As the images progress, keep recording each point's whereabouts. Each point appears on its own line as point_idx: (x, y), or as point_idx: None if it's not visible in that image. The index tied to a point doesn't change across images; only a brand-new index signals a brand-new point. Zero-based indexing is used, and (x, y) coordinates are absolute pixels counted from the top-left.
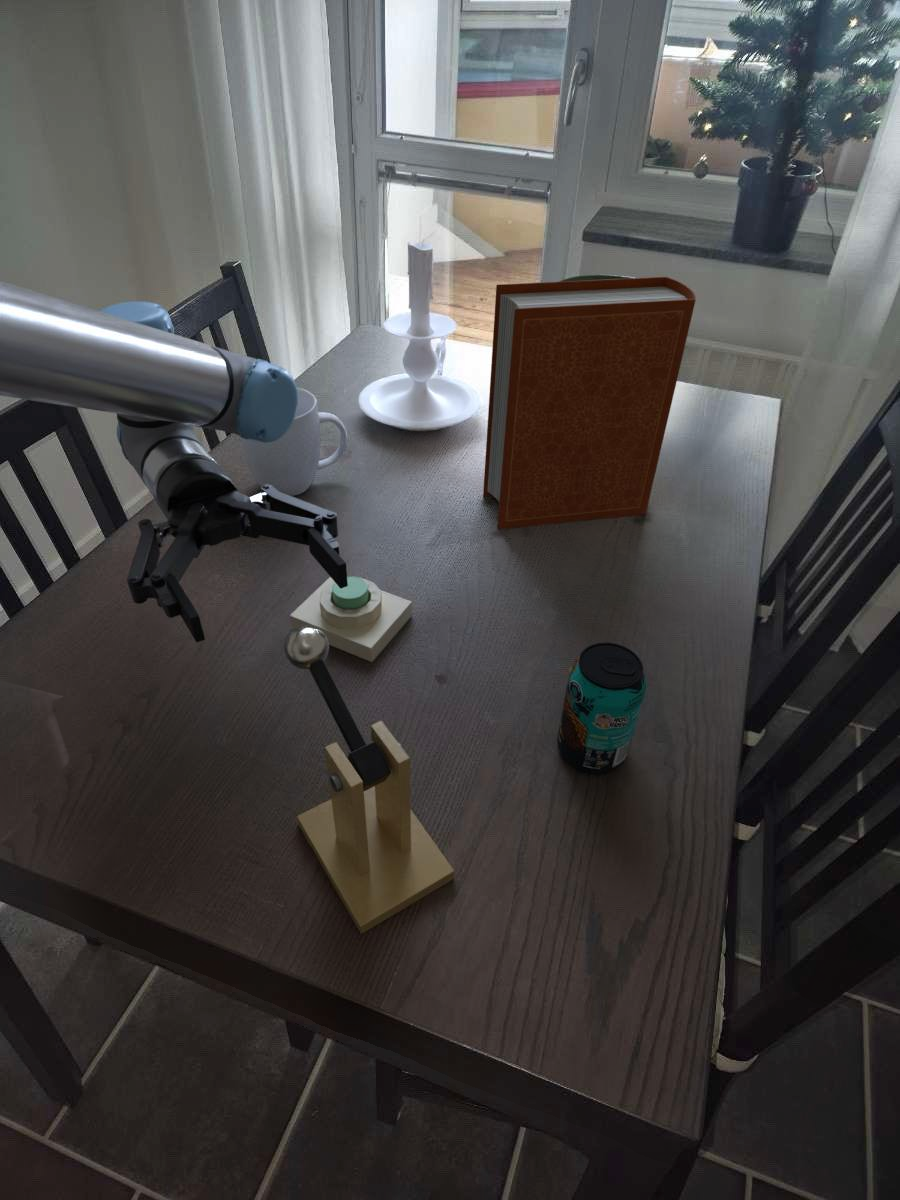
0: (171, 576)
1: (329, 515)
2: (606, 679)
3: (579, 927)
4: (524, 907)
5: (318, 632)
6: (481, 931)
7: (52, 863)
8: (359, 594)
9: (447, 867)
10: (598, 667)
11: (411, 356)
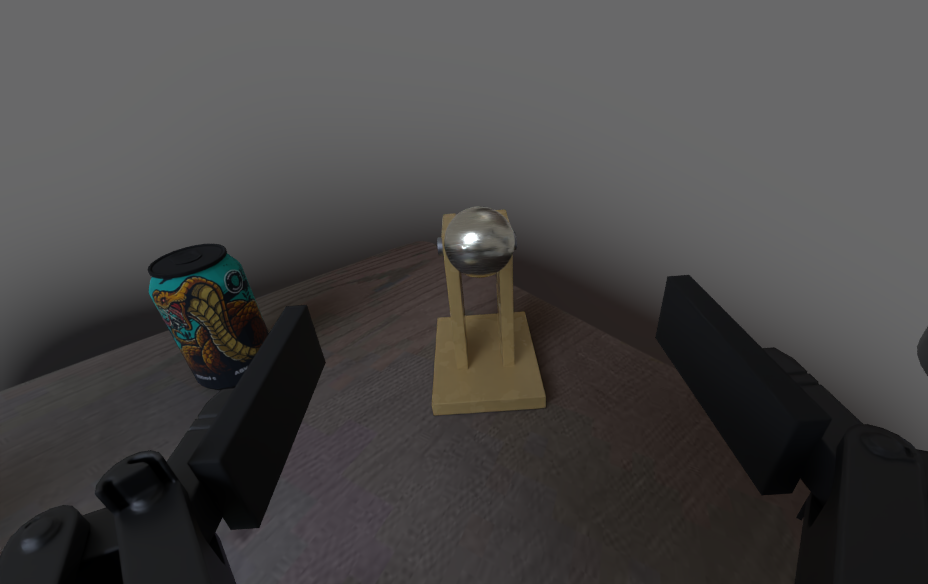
0: (802, 413)
1: (53, 520)
2: (213, 251)
3: (390, 288)
4: (410, 303)
5: (457, 214)
6: (446, 302)
7: None
8: None
9: (440, 320)
10: (200, 259)
11: None
